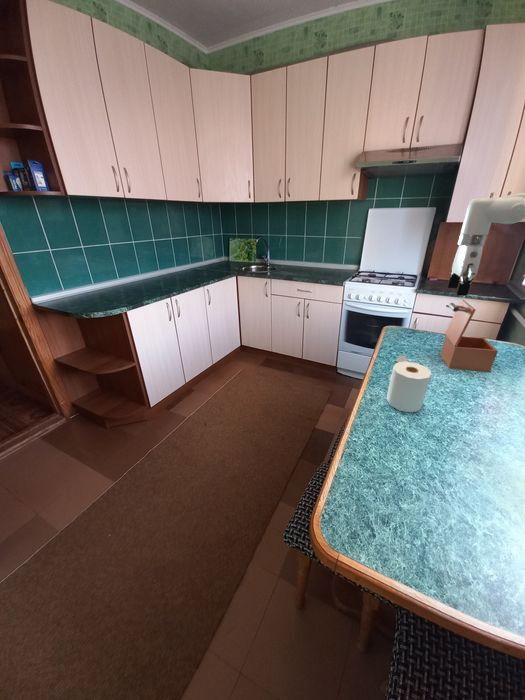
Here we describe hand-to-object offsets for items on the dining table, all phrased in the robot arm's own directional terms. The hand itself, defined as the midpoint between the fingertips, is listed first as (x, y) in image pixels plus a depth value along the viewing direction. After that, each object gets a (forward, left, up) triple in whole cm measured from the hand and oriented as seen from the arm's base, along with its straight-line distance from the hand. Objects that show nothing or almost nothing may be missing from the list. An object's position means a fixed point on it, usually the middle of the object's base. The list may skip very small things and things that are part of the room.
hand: (456, 291), depth 103 cm
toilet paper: (+17, +32, -28) cm, 46 cm away
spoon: (+16, +11, -28) cm, 34 cm away
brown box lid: (-4, 0, -12) cm, 12 cm away
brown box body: (-10, 0, -28) cm, 30 cm away
